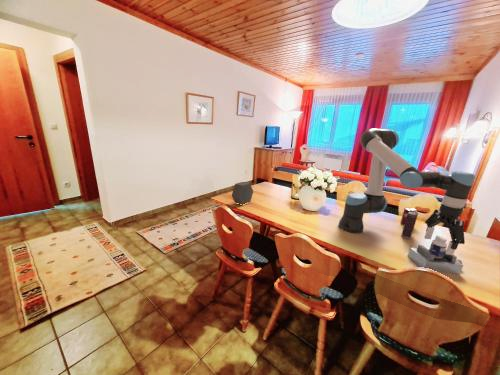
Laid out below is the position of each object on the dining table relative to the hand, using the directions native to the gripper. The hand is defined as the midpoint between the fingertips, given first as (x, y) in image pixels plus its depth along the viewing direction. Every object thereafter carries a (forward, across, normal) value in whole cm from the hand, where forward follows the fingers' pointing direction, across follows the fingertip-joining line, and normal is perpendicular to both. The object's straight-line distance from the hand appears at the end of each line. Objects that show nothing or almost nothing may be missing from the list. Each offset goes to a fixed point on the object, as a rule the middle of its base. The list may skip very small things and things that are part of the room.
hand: (437, 245), depth 100 cm
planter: (+12, +64, +104) cm, 123 cm away
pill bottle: (+5, 0, 0) cm, 5 cm away
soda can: (+11, +48, -17) cm, 52 cm away
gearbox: (+10, -1, -2) cm, 11 cm away
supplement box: (+11, +30, -6) cm, 32 cm away
